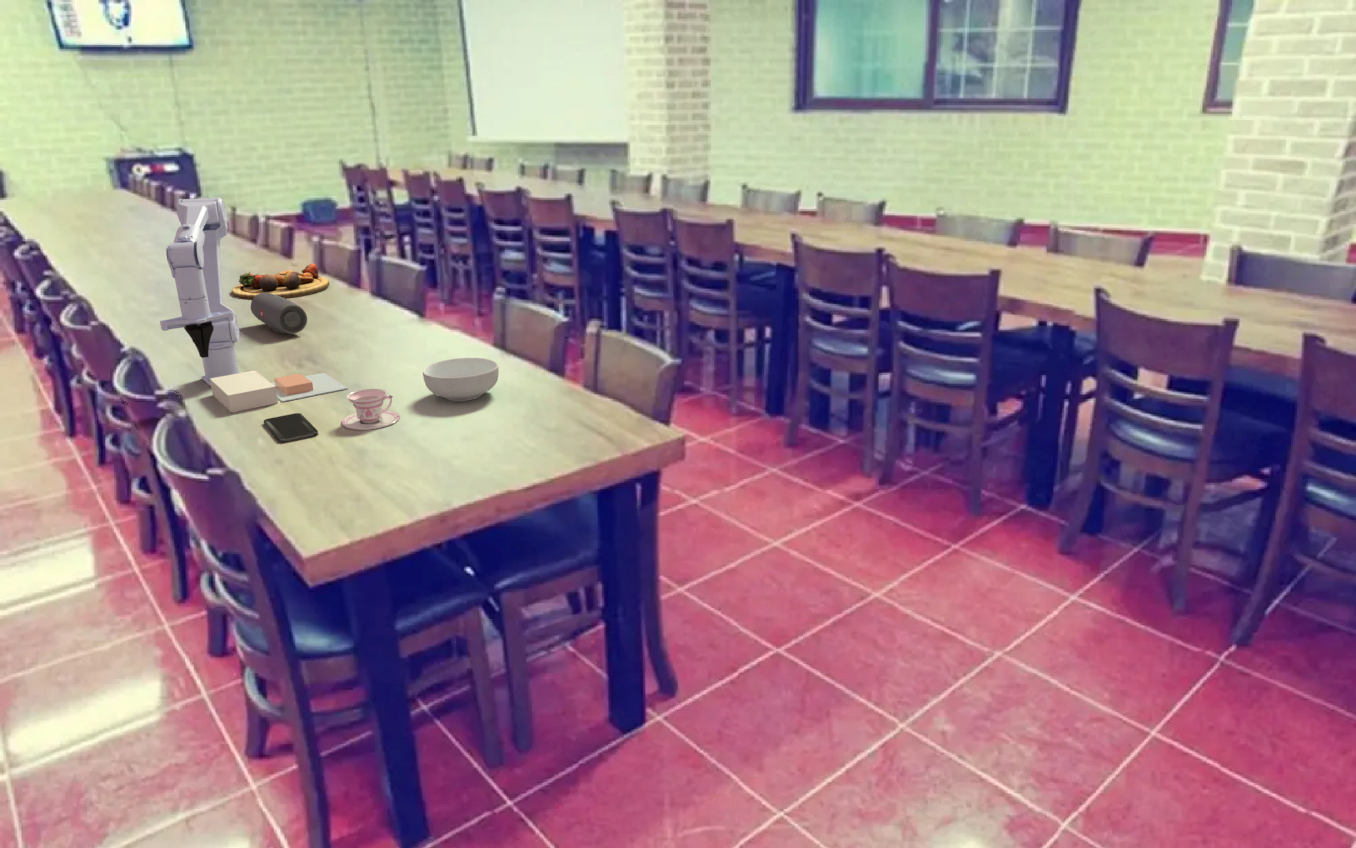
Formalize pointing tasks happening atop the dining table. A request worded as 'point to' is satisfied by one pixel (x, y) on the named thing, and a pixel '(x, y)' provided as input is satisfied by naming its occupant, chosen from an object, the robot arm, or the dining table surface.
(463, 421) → the dining table surface
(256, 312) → the bluetooth speaker
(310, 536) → the dining table surface
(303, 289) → the wooden plate with food
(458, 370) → the cereal bowl
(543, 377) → the dining table surface
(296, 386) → the terracotta tile
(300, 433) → the phone
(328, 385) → the mat
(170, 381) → the dining table surface
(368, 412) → the teacup
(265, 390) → the cream rectangular block
